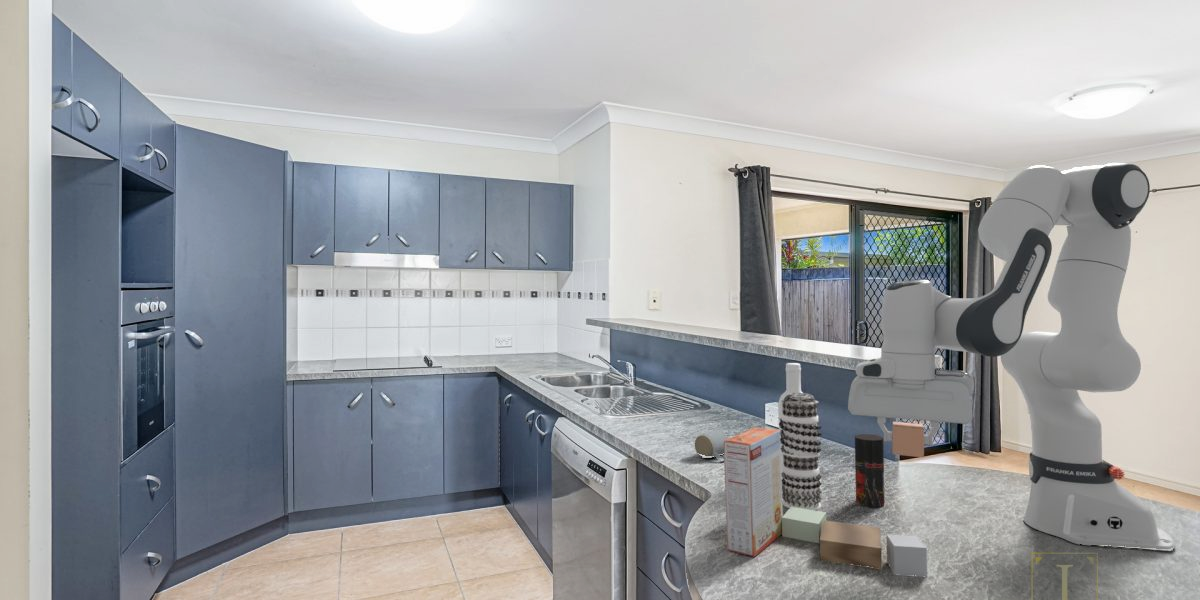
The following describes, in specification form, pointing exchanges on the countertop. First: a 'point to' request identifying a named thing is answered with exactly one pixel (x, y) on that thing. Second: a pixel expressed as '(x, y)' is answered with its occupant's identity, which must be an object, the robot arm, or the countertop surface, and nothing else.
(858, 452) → the deodorant
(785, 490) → the decorative candle
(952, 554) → the countertop surface
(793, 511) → the sage block
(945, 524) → the countertop surface
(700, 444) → the ceramic mug
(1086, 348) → the robot arm
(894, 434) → the terracotta cube
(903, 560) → the grey cube
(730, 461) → the cracker box
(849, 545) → the walnut block
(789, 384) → the bottle
